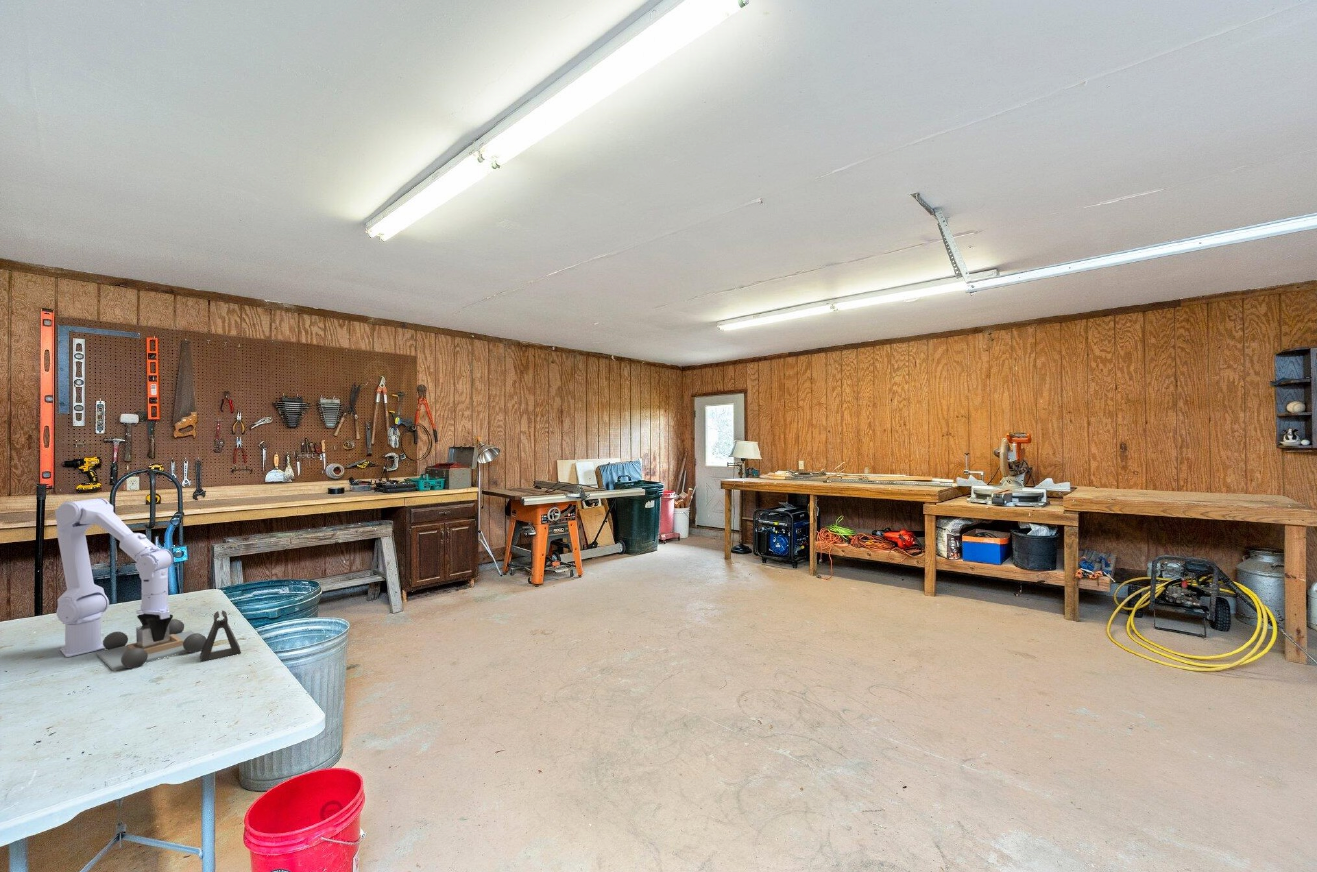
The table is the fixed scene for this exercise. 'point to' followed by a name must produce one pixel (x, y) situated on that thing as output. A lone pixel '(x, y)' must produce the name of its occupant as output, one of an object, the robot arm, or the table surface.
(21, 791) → the table surface
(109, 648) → the chassis board
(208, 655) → the phone stand
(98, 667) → the table surface
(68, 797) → the table surface
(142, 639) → the block
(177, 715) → the table surface
